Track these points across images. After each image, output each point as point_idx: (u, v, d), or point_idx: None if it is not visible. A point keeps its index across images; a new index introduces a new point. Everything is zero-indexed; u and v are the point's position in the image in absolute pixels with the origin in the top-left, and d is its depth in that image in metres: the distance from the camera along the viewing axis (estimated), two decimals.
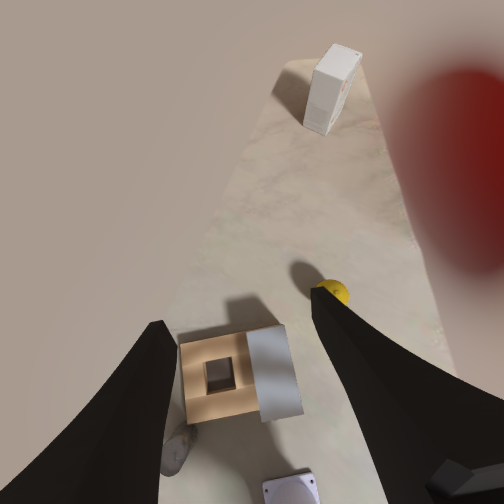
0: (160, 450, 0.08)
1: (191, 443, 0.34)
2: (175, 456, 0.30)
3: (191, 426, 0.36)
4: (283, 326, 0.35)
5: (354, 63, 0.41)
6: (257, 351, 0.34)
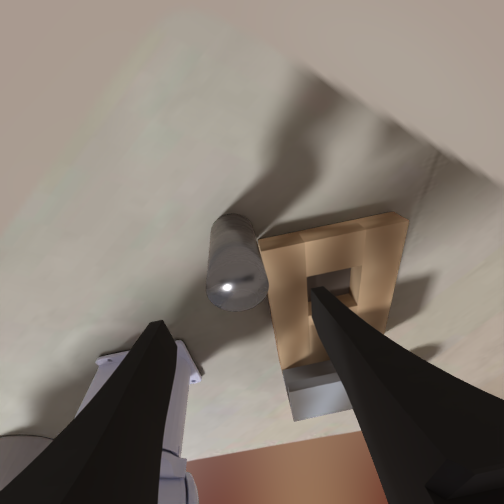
0: (160, 450, 0.08)
1: None
2: (244, 297, 0.13)
3: None
4: None
5: None
6: None
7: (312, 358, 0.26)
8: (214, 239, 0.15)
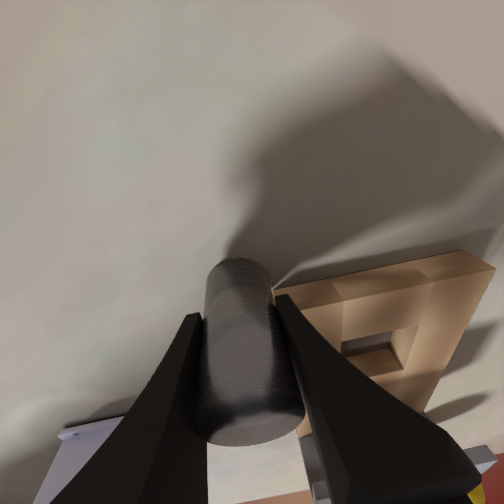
0: None
1: None
2: (262, 430, 0.08)
3: None
4: None
5: None
6: None
7: None
8: (211, 310, 0.10)
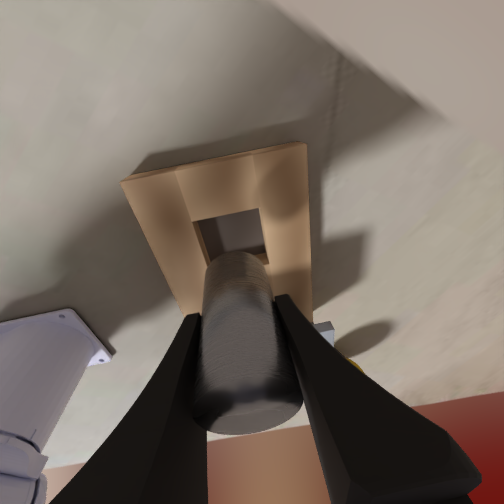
0: (205, 441, 0.08)
1: None
2: (262, 417, 0.08)
3: None
4: None
5: None
6: None
7: None
8: (206, 303, 0.10)
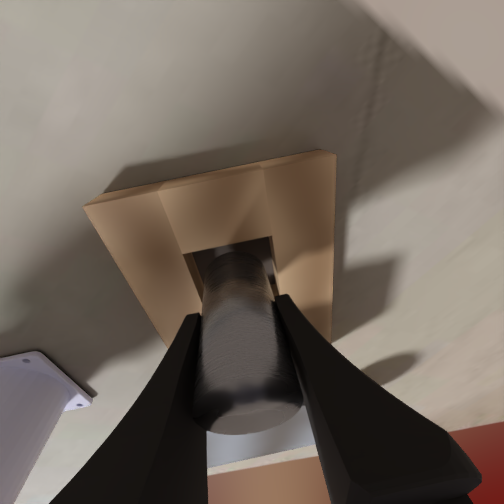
0: (206, 441, 0.08)
1: None
2: (262, 417, 0.08)
3: None
4: None
5: None
6: None
7: None
8: (206, 303, 0.10)
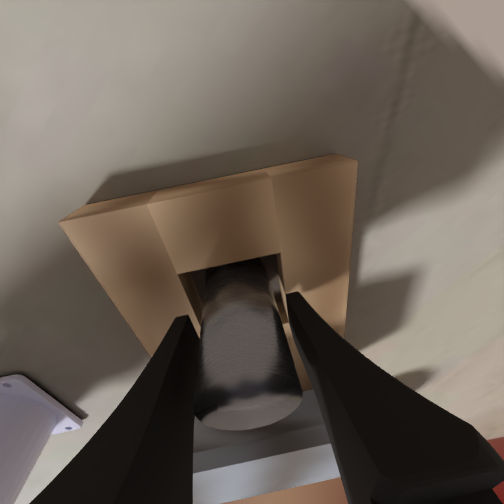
0: (192, 443, 0.08)
1: None
2: (262, 413, 0.08)
3: None
4: None
5: None
6: (329, 452, 0.12)
7: None
8: (207, 301, 0.10)
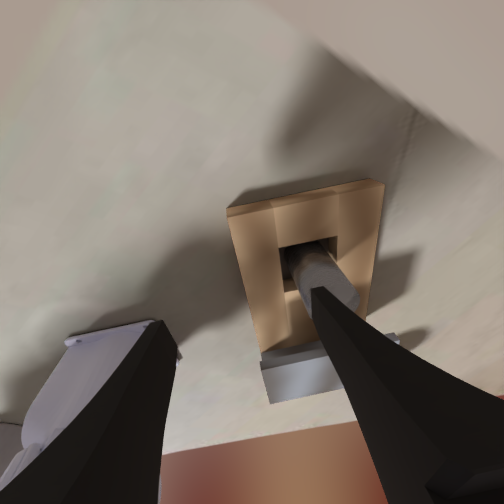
0: (160, 450, 0.08)
1: None
2: None
3: None
4: None
5: None
6: None
7: (292, 340, 0.25)
8: (298, 262, 0.18)
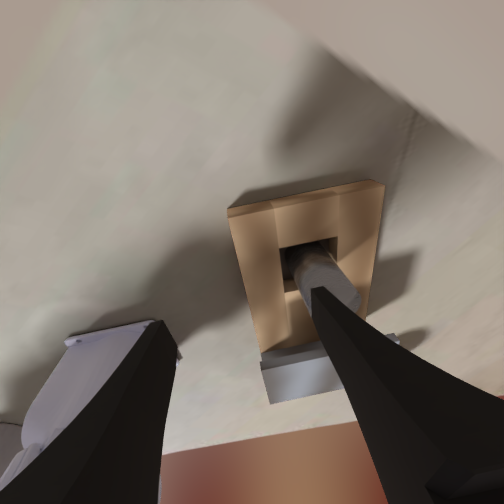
0: (160, 450, 0.08)
1: None
2: None
3: None
4: None
5: None
6: None
7: (292, 341, 0.25)
8: (299, 263, 0.18)
